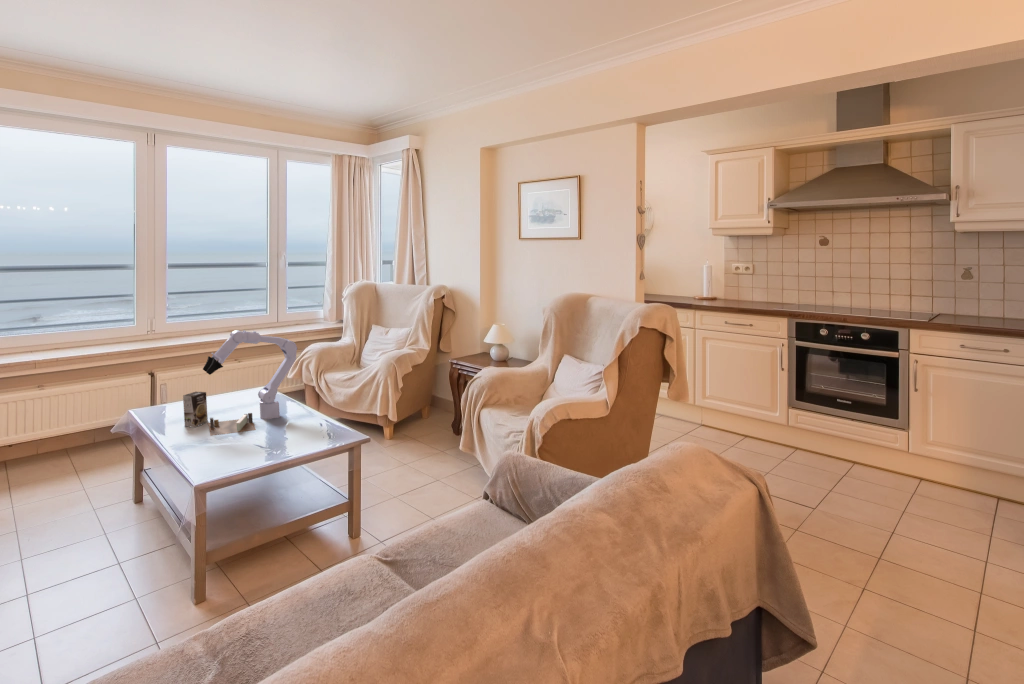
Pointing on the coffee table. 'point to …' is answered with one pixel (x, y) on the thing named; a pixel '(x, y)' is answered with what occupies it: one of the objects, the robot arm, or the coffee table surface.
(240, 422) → the gate
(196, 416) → the coffee box
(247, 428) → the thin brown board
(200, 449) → the coffee table surface
